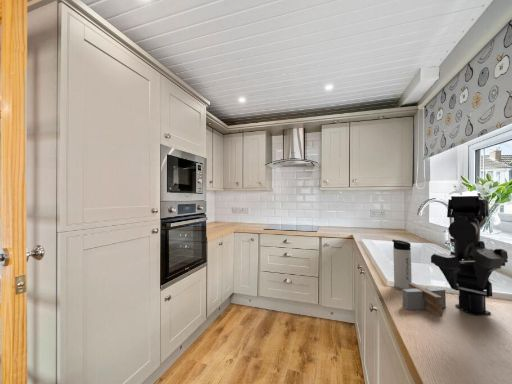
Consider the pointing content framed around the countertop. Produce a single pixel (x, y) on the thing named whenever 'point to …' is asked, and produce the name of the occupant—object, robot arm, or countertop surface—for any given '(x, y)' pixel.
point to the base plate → (420, 298)
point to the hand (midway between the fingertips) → (467, 288)
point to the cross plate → (430, 300)
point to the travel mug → (402, 264)
